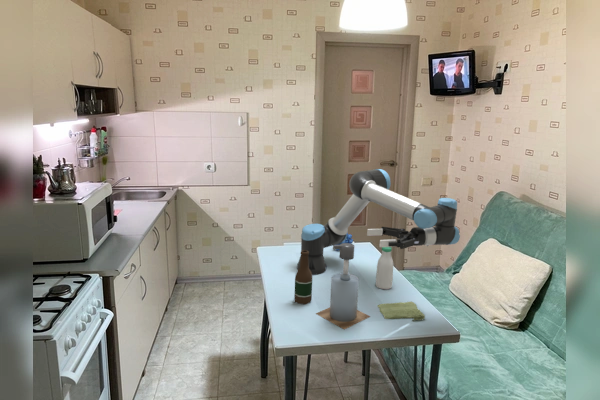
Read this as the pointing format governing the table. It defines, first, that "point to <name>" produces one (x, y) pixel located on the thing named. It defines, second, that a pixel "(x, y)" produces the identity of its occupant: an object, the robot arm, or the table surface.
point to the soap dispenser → (344, 297)
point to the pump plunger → (345, 254)
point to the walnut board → (343, 325)
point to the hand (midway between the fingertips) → (373, 237)
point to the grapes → (347, 240)
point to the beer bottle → (303, 281)
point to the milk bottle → (385, 269)
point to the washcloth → (401, 311)
